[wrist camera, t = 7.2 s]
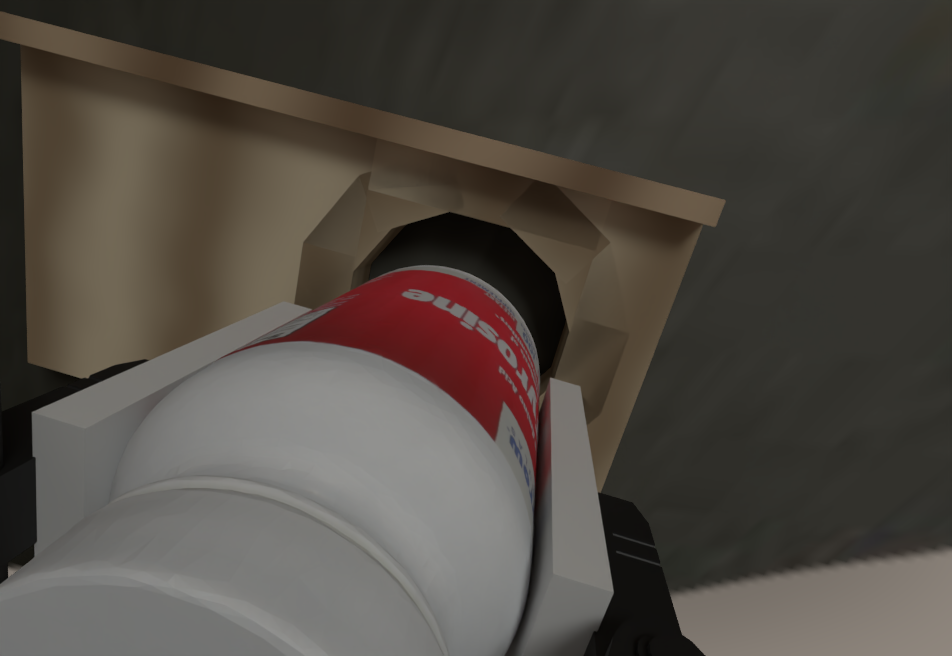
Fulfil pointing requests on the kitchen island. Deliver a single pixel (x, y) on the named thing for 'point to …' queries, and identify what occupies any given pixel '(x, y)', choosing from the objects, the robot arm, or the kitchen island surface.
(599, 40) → the kitchen island surface
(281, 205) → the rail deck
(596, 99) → the kitchen island surface
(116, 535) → the pill bottle
